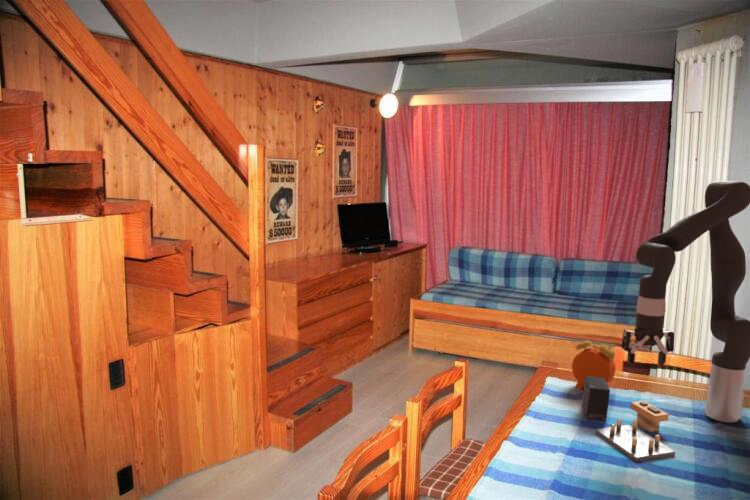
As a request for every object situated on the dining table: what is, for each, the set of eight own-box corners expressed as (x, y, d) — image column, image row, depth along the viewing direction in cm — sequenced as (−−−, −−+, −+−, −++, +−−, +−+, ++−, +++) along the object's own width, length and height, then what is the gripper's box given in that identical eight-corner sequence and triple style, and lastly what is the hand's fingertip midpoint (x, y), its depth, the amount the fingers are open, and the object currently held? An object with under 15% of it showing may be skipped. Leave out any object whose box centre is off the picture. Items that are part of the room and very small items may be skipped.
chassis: (631, 427, 180) (632, 414, 179) (674, 455, 164) (676, 441, 163) (595, 432, 176) (596, 419, 175) (636, 461, 160) (637, 447, 159)
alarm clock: (613, 392, 207) (619, 337, 203) (607, 397, 202) (612, 340, 199) (576, 381, 215) (581, 328, 212) (569, 386, 211) (574, 332, 207)
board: (643, 406, 186) (644, 398, 185) (667, 420, 176) (668, 412, 176) (630, 408, 184) (631, 400, 184) (654, 422, 175) (655, 414, 174)
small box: (607, 422, 183) (611, 389, 182) (585, 419, 185) (588, 387, 183) (602, 407, 194) (605, 377, 192) (581, 405, 195) (584, 375, 193)
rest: (644, 421, 184) (645, 409, 183) (658, 430, 178) (660, 418, 178) (636, 422, 183) (637, 410, 183) (650, 431, 178) (652, 419, 177)
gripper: (669, 308, 176) (664, 360, 179) (620, 307, 177) (616, 359, 179) (681, 315, 169) (676, 369, 172) (631, 314, 169) (626, 369, 172)
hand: (645, 364), depth 176 cm, fingers open, 8 cm apart
